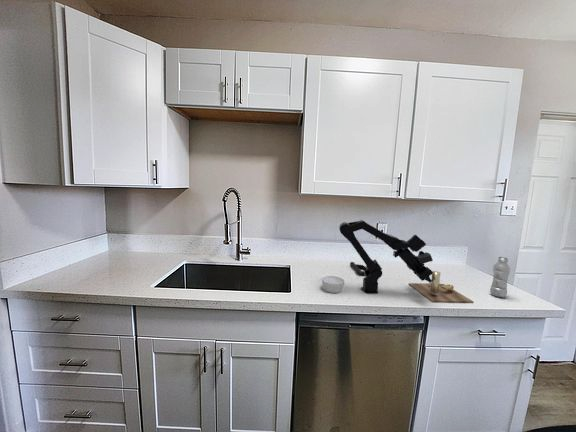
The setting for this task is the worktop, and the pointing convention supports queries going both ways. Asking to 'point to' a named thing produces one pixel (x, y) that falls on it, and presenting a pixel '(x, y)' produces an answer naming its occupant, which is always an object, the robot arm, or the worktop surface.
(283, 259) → the worktop surface
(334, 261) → the worktop surface
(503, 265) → the plastic bottle
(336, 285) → the ramekin
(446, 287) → the plate
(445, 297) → the walnut board
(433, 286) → the beige lever tool
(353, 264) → the door handle
